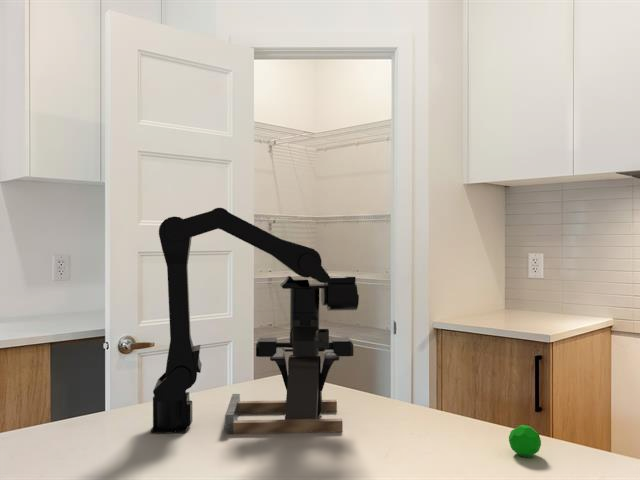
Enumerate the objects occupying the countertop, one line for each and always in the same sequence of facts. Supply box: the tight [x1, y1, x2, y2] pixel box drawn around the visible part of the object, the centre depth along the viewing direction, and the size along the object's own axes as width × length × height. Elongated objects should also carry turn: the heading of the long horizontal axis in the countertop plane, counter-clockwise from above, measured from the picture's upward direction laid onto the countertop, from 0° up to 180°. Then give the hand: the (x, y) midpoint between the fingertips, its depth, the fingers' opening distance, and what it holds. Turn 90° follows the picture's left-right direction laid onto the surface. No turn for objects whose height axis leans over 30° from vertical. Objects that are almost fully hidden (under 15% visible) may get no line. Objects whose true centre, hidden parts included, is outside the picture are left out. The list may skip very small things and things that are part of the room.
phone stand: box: [284, 354, 323, 419], centre depth 114 cm, size 9×6×12 cm, turn 171°
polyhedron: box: [508, 424, 542, 458], centre depth 96 cm, size 5×5×5 cm
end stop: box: [224, 393, 241, 435], centre depth 113 cm, size 2×14×4 cm, turn 3°
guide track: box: [227, 399, 343, 435], centre depth 114 cm, size 21×14×2 cm, turn 93°
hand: (304, 390), depth 114 cm, fingers closed on phone stand, 6 cm apart
